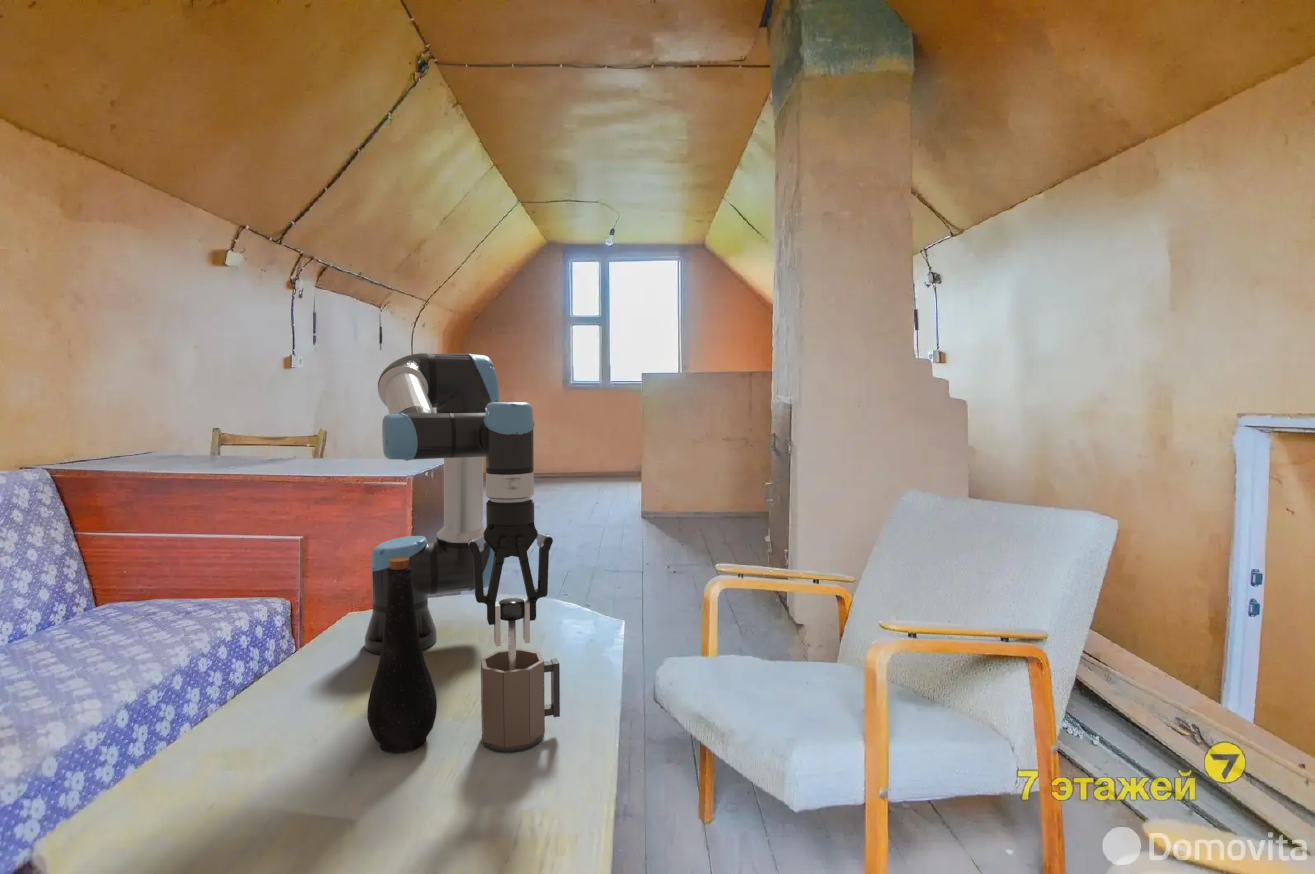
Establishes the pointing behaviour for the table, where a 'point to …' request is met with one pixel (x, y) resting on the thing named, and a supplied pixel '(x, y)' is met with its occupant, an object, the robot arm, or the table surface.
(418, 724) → the bottle
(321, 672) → the table surface
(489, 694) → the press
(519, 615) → the plunger
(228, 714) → the table surface
